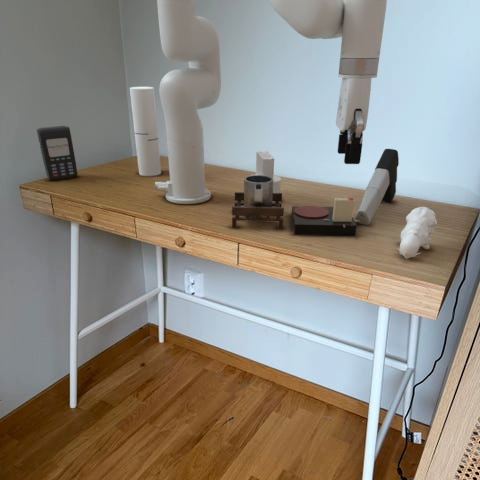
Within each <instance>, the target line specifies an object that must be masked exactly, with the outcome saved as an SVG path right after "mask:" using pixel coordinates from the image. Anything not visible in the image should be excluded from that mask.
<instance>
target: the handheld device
mask: <svg viewBox="0 0 480 480" xmlns="http://www.w3.org/2000/svg"><path fill="white" fill-rule="evenodd" d="M399 164H400V163H399V152H398V150H397V149H393V148H385V149H383V152H382V153H381V156H380V158H379V160H378V162H377V164H376V166H375V168H374V171H373V174H372V176H371V178H370V180H369V182H368V184H367V186H366V188H365V191H364V195H363V197H362V200H361V202H360V205H359V208H358V211H357V213H356V216H355V220H360V221H356V224H360V225H364V226H369V225H370V224H371V222H372V220H373V218H374V217H375V215H376V212H377V210H378V208H379V206H380V204H381V203H388V204H391V203H392V202H393V200H394V197H395V195H396V193H397V181H398V167H399Z"/></svg>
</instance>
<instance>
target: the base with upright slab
mask: <svg viewBox="0 0 480 480" xmlns="http://www.w3.org/2000/svg"><path fill="white" fill-rule="evenodd" d="M255 154H256V155H255V157H256V158H255V174H254V175H264V176H269V177H271V178H273V193H281V187H282V178H281V177H280V176H279V175H276V174H275V171H274V170H275V157H273V155H271V153H269V151H267V150H265V151H264V150H261V151H256V153H255ZM252 175H253V174H251V175H250V176H252ZM272 203H275V201H272ZM279 203H281V201H279Z"/></svg>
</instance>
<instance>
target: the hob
mask: <svg viewBox="0 0 480 480" xmlns="http://www.w3.org/2000/svg"><path fill="white" fill-rule="evenodd" d="M300 206H301V205H292V206H291V213H290V215H291V222H292V229H293V234H294V236H296V235H298V236H337V237H339V236H342V237H343V236H344V237H345V236H346V237H356V234H357V228H358V225H357V221H360V220H356V219H354V217H353V216H352V222H334V221H333V220H332V217H333V209H334V206H322V207H323V208H326V209H327V210H328V211H329V215H328V216H326V217H322V218H306V217H301V216H298V215H297V214H295V213H294V210H295V208H297V207H300Z"/></svg>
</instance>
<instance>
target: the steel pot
mask: <svg viewBox="0 0 480 480" xmlns="http://www.w3.org/2000/svg"><path fill="white" fill-rule="evenodd" d="M251 175H252V176H251ZM251 175H247V176H246V177H244V179H243V192H244V201H243V202H244V206H243V207H273V206H272V197H273V178H271V177H269V176H264V175H255V174H251Z"/></svg>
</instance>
